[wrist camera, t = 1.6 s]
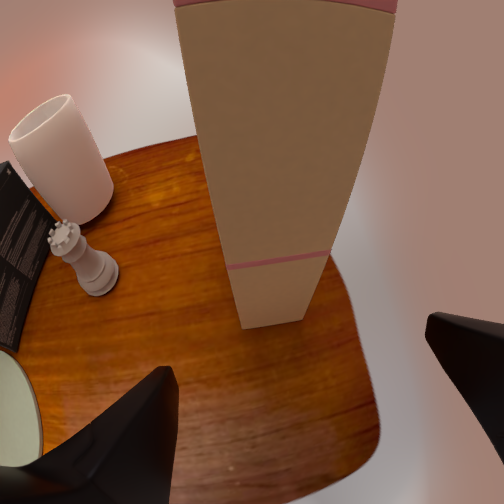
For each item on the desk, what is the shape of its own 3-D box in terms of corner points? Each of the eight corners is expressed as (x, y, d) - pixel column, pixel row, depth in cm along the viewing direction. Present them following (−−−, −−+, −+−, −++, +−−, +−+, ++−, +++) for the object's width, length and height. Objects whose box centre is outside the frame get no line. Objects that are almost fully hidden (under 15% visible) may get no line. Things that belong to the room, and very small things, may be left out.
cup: (66, 245, 27) (-2, 159, 15) (62, 201, 31) (12, 123, 19) (126, 211, 29) (74, 107, 17) (113, 172, 33) (74, 84, 21)
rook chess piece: (124, 288, 24) (81, 242, 18) (87, 304, 24) (38, 264, 17) (116, 251, 27) (80, 201, 20) (82, 268, 26) (40, 223, 19)
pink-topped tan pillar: (302, 320, 22) (401, -11, 3) (242, 329, 22) (168, -24, 3) (292, 276, 24) (334, -25, 5) (235, 285, 24) (182, -24, 5)
